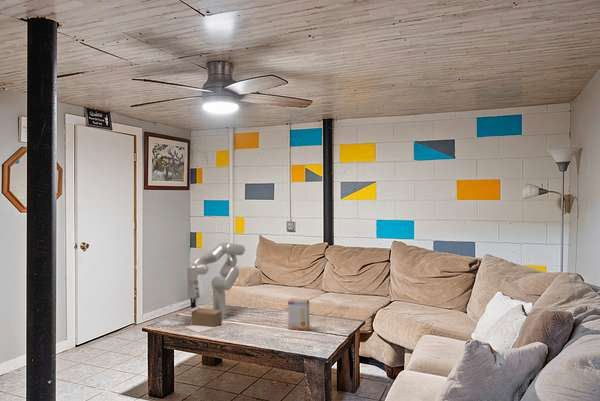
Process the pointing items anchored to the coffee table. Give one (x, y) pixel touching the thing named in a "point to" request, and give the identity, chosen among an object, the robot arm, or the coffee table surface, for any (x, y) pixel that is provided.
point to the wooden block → (206, 317)
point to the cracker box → (298, 314)
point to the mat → (200, 328)
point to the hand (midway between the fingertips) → (193, 307)
